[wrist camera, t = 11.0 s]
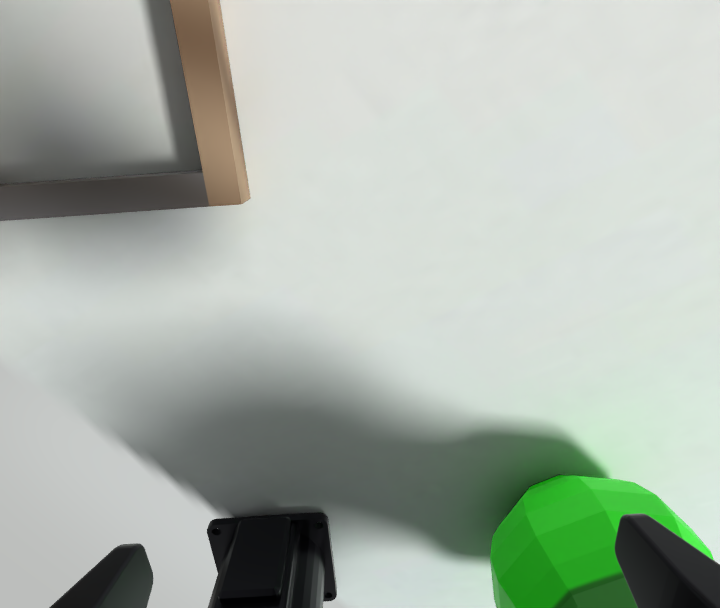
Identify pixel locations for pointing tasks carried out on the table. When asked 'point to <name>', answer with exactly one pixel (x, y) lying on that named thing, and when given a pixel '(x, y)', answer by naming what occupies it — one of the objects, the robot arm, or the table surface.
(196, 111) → the rectangular wooden frame
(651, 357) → the table surface
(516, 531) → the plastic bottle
